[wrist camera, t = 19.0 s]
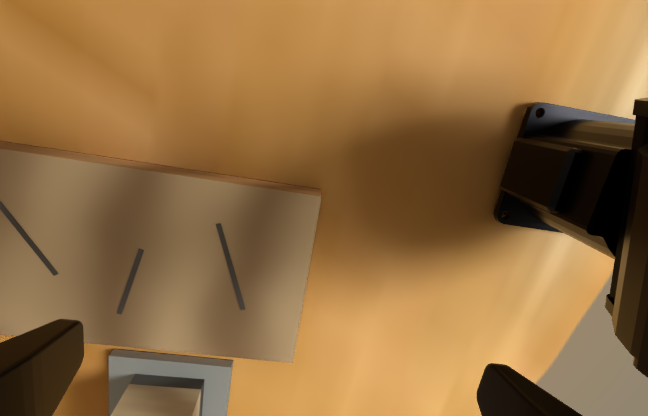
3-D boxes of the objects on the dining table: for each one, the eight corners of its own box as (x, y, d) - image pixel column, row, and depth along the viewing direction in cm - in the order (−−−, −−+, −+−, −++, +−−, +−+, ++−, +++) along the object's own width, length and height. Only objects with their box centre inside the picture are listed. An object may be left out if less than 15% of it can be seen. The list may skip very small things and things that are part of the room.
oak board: (320, 189, 19) (321, 196, 18) (293, 345, 22) (292, 363, 21) (-49, 133, 17) (-82, 137, 16) (-27, 312, 20) (-53, 330, 19)
